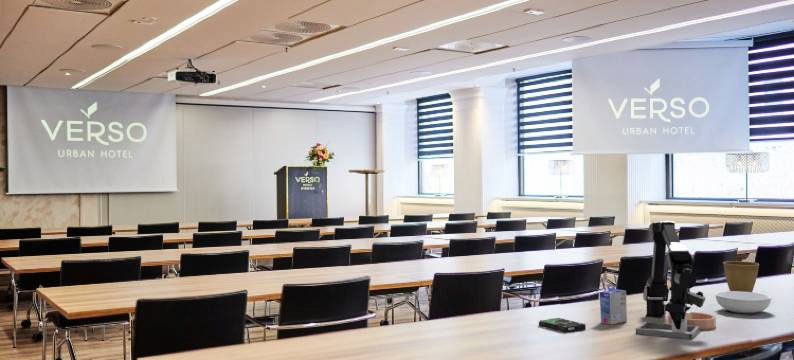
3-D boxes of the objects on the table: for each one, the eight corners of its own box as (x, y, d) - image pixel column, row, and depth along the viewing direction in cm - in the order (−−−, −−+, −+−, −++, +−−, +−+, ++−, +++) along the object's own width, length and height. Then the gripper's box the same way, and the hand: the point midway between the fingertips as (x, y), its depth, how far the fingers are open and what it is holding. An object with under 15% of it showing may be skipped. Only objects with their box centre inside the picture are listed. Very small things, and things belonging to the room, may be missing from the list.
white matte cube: (677, 322, 275) (676, 312, 275) (679, 320, 279) (679, 310, 279) (689, 323, 273) (689, 313, 273) (691, 321, 276) (691, 311, 276)
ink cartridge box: (616, 319, 286) (615, 283, 286) (627, 321, 281) (627, 284, 281) (599, 322, 280) (599, 285, 280) (610, 325, 276) (610, 287, 276)
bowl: (664, 326, 272) (664, 317, 272) (674, 319, 285) (673, 310, 285) (711, 331, 263) (711, 321, 263) (718, 323, 277) (718, 314, 277)
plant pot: (720, 298, 332) (720, 263, 332) (727, 294, 344) (726, 260, 344) (756, 301, 324) (756, 265, 324) (761, 296, 336) (761, 262, 336)
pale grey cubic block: (671, 331, 259) (671, 320, 259) (674, 329, 262) (674, 318, 262) (684, 332, 256) (684, 321, 256) (687, 330, 260) (687, 319, 260)
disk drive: (586, 331, 268) (558, 324, 281) (586, 324, 268) (558, 317, 281) (565, 334, 263) (538, 327, 275) (565, 327, 263) (538, 319, 275)
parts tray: (635, 333, 260) (635, 328, 260) (645, 326, 273) (645, 321, 273) (692, 339, 250) (691, 334, 250) (699, 331, 263) (699, 326, 263)
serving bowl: (716, 314, 294) (716, 297, 294) (714, 306, 314) (714, 290, 314) (773, 317, 287) (773, 300, 287) (768, 308, 306) (768, 292, 306)
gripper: (698, 289, 247) (698, 335, 247) (707, 282, 263) (708, 325, 263) (664, 287, 253) (664, 332, 253) (675, 280, 269) (675, 322, 269)
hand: (679, 328), depth 259 cm, fingers closed on pale grey cubic block, 4 cm apart
